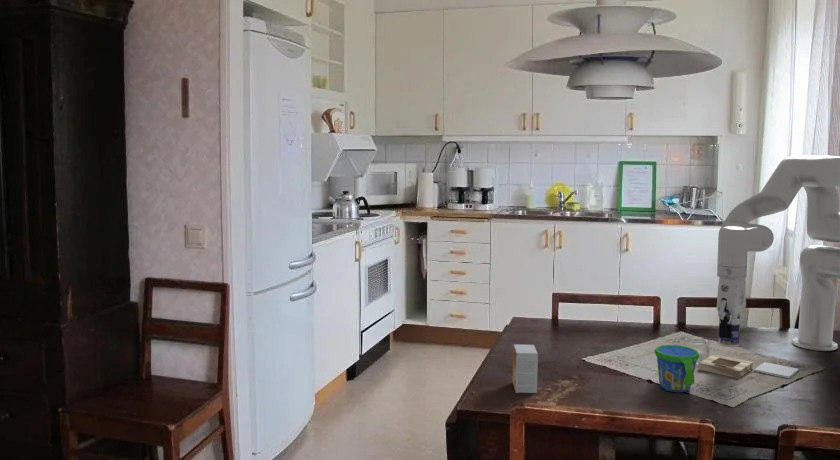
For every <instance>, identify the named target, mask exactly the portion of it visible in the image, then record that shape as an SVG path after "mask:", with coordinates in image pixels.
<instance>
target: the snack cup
mask: <svg viewBox="0 0 840 460" xmlns="http://www.w3.org/2000/svg"><path fill="white" fill-rule="evenodd" d="M654 354H655V356H656V362H657V372H658V374H657V375H658V383H659V386H660V388H662V389H664V390H665V391H667V392H673V393H685V392H688V391H690V390H691V387H692V385H694V383H695V380H696V379H695V375H694V373H695V371H696V370H695V369H696V364H697V362H698V360H699V358H700V353H699V351H698V350H697V349H694V348H691V347H688V346H686V345H685V346H683V345H678V344H663V345H659V346H657V347H656V348H655V349H654Z"/></svg>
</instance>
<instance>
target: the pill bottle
mask: <svg viewBox="0 0 840 460" xmlns="http://www.w3.org/2000/svg"><path fill="white" fill-rule="evenodd" d="M725 312H727V313H729V311H727V310H726V311H725ZM725 316H727V318H728V315H725ZM737 317H738V313H737V314H735V315H733V314H732V318H731V324H732V336H731V338H730V339H729V338H723V337H719V336H718V341H717V342H718V344H719V345H720V346H722V347H725V348H736V347H737V348H738V347H739V345H740V335H741V334H740V333H741V320H739V319H738V318H737Z"/></svg>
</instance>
